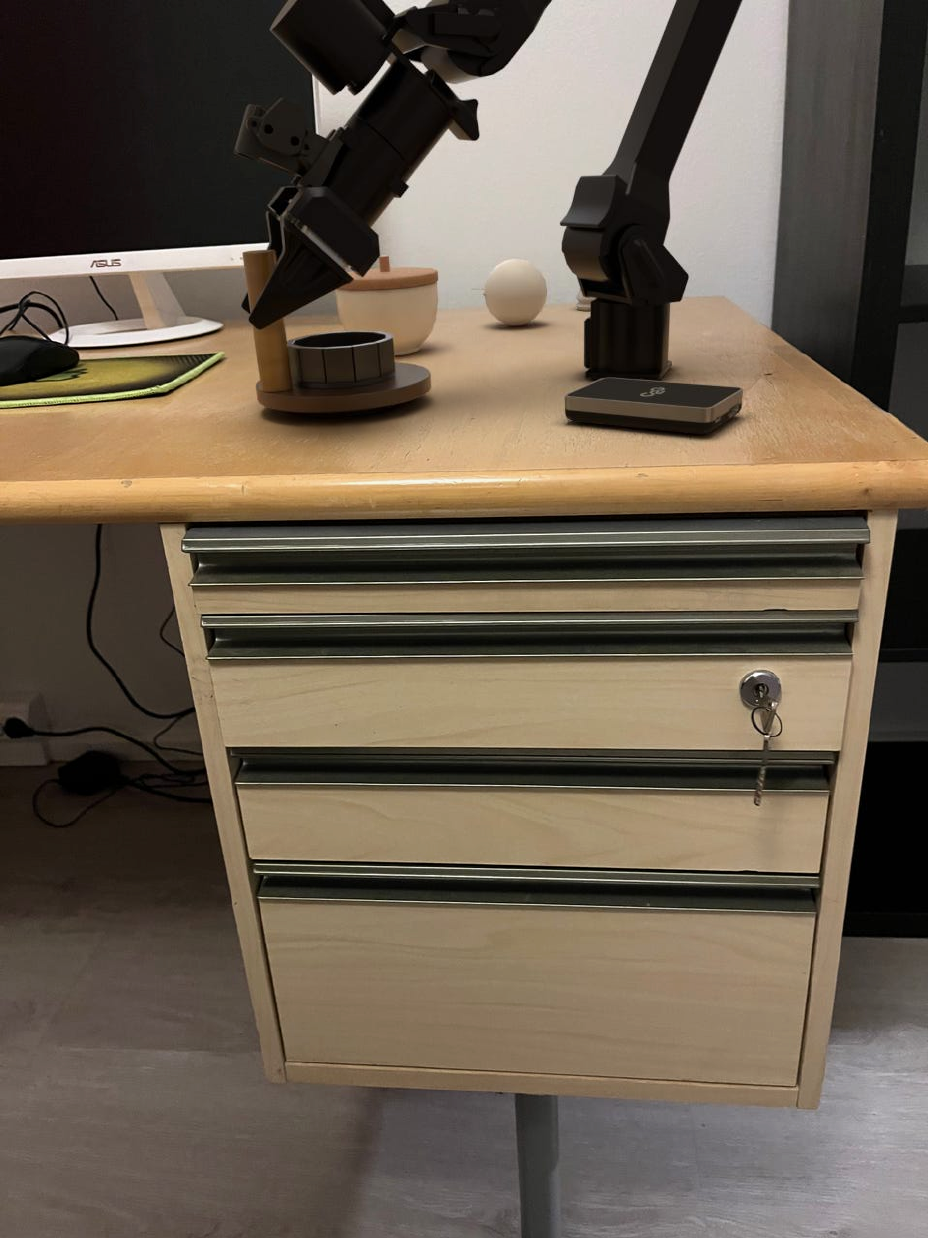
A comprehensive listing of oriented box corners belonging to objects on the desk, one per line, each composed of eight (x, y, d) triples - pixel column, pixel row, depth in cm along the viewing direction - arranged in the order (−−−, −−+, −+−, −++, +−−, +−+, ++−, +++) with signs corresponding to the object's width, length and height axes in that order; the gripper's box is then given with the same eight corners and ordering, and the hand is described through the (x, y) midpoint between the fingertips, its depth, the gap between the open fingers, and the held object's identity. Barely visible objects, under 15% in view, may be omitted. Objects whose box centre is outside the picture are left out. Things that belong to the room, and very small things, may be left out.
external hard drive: (708, 439, 63) (710, 408, 62) (560, 423, 69) (559, 395, 68) (743, 415, 68) (745, 387, 67) (602, 403, 74) (603, 376, 73)
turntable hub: (411, 395, 80) (410, 383, 79) (369, 419, 73) (368, 406, 72) (326, 393, 82) (325, 381, 82) (278, 415, 76) (276, 402, 75)
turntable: (377, 368, 86) (366, 234, 81) (465, 391, 75) (457, 238, 70) (230, 393, 79) (208, 249, 74) (304, 422, 68) (283, 256, 64)
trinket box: (429, 359, 94) (422, 258, 90) (326, 361, 96) (315, 262, 92) (452, 341, 104) (447, 249, 100) (358, 342, 106) (349, 252, 102)
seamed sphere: (561, 323, 111) (560, 256, 108) (515, 332, 107) (514, 262, 104) (502, 317, 118) (500, 254, 115) (457, 325, 114) (454, 260, 111)
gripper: (280, 71, 73) (158, 234, 76) (309, 38, 57) (152, 248, 59) (389, 178, 78) (272, 328, 81) (444, 176, 62) (295, 365, 64)
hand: (249, 317), depth 71 cm, fingers open, 8 cm apart
